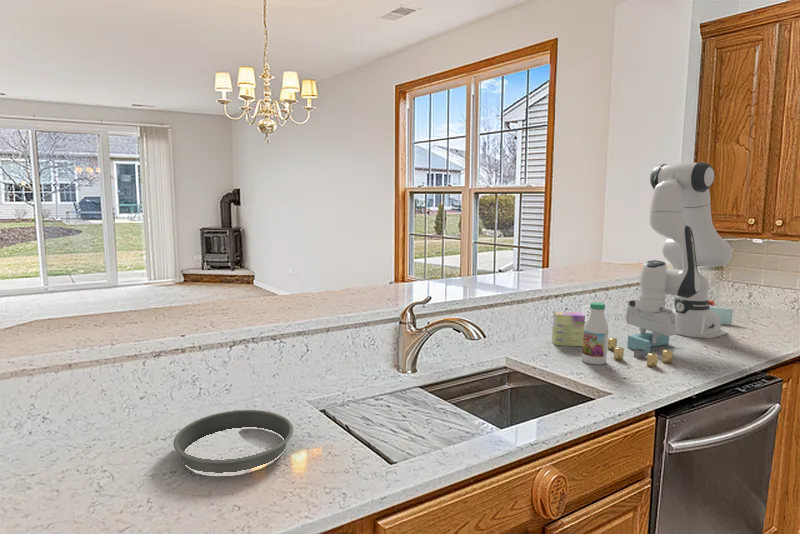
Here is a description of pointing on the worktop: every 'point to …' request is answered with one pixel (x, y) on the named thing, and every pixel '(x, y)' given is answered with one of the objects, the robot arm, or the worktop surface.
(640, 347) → the hook tool
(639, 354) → the nut
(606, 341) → the milk bottle
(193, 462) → the dark grey ring
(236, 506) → the worktop surface
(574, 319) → the box
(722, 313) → the l-shaped corner panel
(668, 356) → the brass spacers
